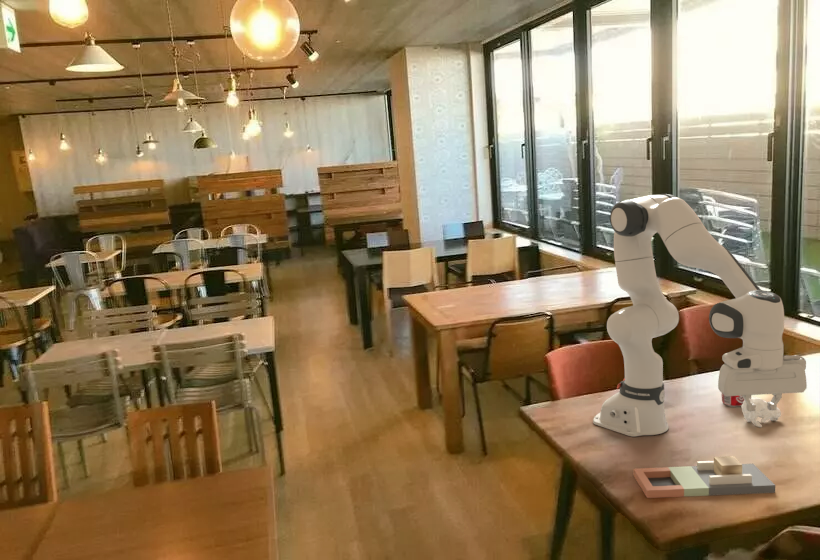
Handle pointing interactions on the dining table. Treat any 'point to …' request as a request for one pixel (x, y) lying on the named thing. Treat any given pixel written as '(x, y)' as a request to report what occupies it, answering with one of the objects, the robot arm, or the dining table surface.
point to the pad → (689, 481)
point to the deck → (662, 485)
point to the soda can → (732, 400)
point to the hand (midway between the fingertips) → (761, 410)
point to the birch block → (727, 465)
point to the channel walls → (723, 478)
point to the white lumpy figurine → (759, 412)
